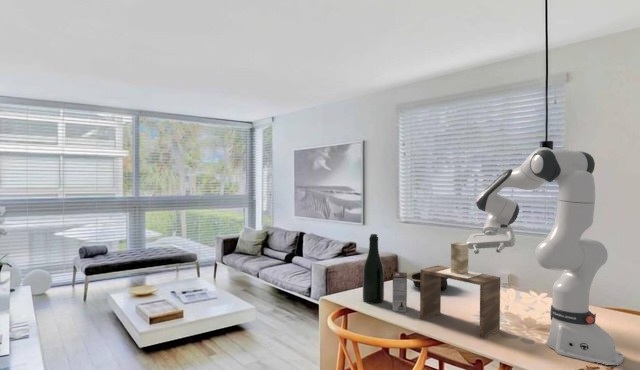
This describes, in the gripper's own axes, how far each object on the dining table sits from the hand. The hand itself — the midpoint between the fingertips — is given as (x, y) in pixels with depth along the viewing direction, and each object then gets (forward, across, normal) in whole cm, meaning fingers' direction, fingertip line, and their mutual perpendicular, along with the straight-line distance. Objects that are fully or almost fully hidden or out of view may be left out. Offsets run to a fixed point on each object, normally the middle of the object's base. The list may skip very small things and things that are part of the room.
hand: (486, 252), depth 172 cm
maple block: (+16, -7, -3) cm, 18 cm away
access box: (+28, -11, +15) cm, 33 cm away
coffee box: (+25, -39, +11) cm, 47 cm away
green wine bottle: (+22, -54, +10) cm, 59 cm away
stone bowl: (-12, -45, +33) cm, 58 cm away
